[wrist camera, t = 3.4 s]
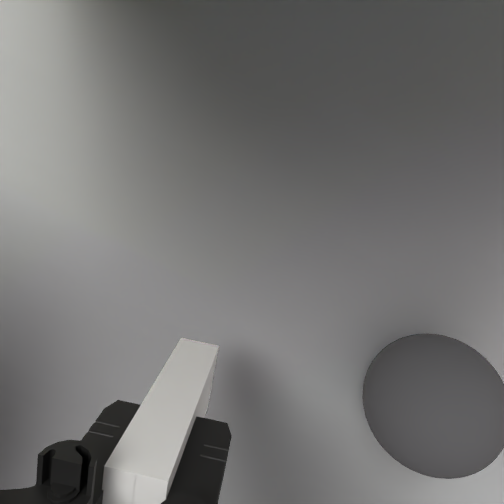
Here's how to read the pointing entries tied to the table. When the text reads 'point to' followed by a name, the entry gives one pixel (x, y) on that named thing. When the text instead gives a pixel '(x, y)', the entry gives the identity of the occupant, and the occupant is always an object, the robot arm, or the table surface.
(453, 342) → the dark gray ball
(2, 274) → the table surface
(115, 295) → the table surface
